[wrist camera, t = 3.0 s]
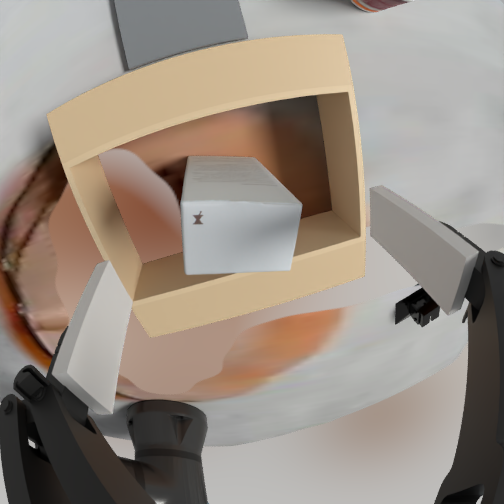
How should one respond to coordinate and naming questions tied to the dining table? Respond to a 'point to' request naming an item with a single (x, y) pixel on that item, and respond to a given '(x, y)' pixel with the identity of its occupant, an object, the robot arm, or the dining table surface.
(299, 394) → the dining table surface
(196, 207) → the skincare box
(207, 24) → the coaster
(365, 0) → the pill bottle
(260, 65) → the carton
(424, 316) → the black boxy piece
